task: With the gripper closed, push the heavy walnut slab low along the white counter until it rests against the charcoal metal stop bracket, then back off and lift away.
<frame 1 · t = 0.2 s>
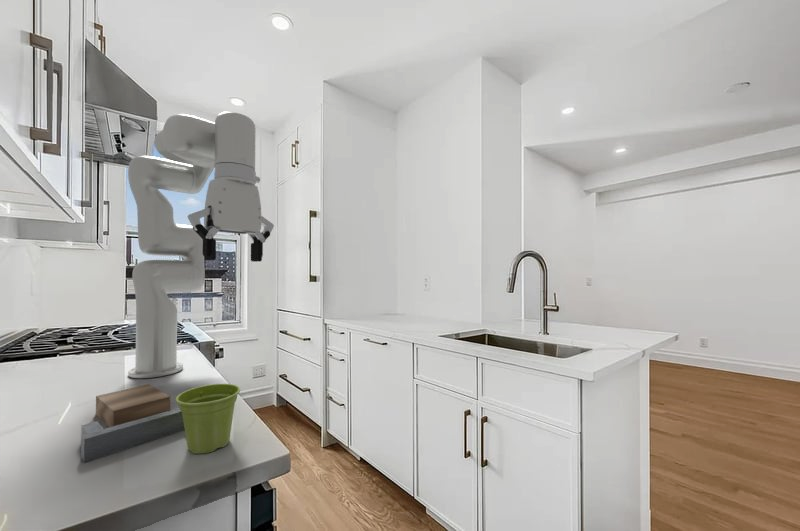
hand: (234, 260, 71), 31 cm above the counter, tool pointing down, fingers open, 9 cm apart
walnut slab: (132, 416, 70), on the counter
plant pot: (208, 446, 58), on the counter
stop bracket: (159, 435, 61), on the counter
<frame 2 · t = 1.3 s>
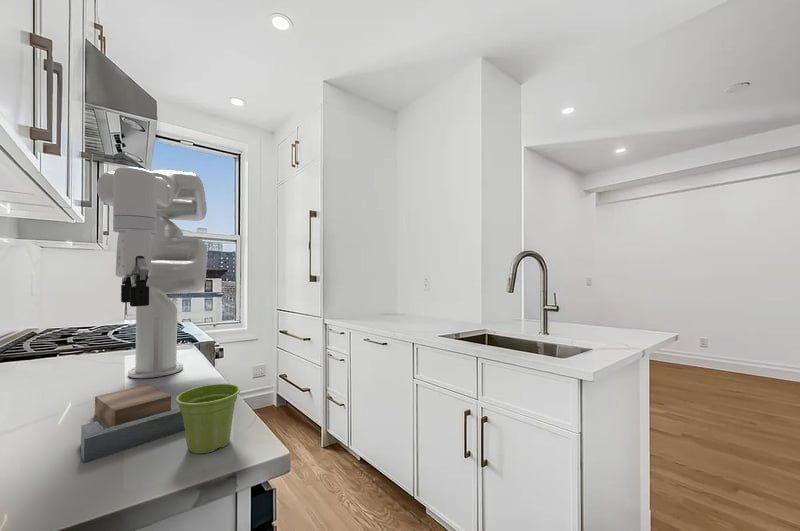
hand: (134, 303, 76), 21 cm above the counter, tool pointing down, fingers open, 9 cm apart
nothing on the counter moved.
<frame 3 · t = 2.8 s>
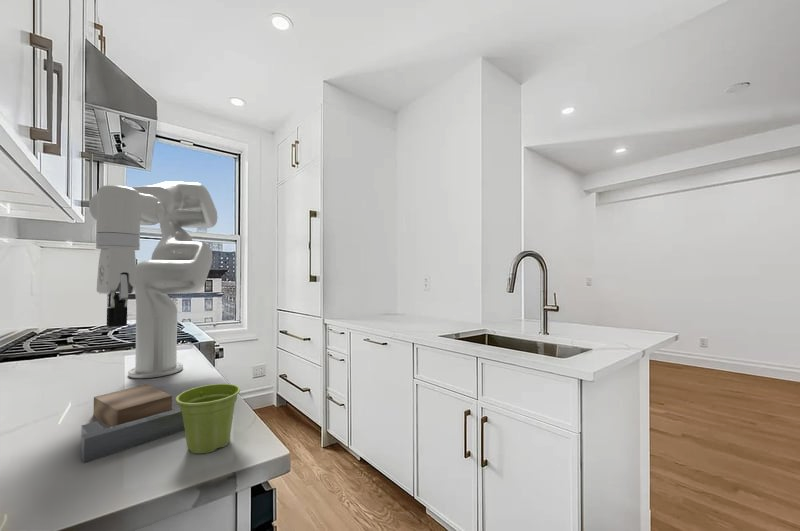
hand: (116, 325, 77), 17 cm above the counter, tool pointing down, fingers closed
nothing on the counter moved.
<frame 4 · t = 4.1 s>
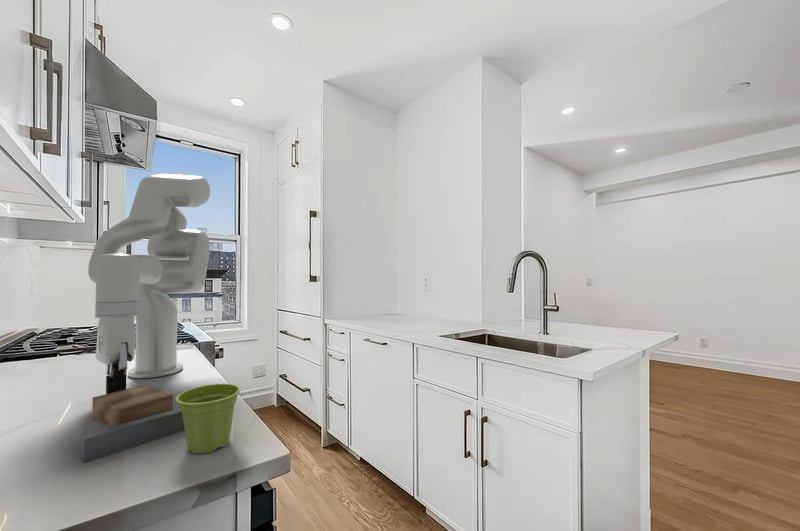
hand: (116, 393, 76), 2 cm above the counter, tool pointing down, fingers closed
nothing on the counter moved.
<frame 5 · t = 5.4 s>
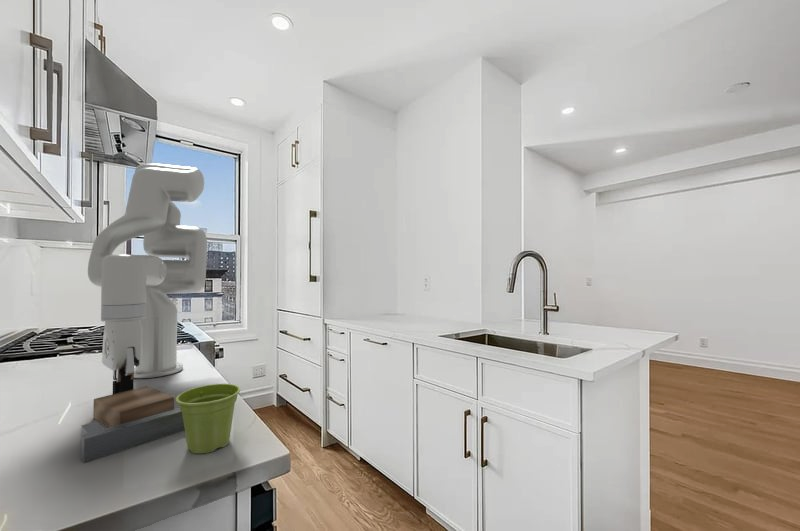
hand: (123, 398, 74), 2 cm above the counter, tool pointing down, fingers closed
walnut slab: (134, 418, 69), on the counter
everything else where it was.
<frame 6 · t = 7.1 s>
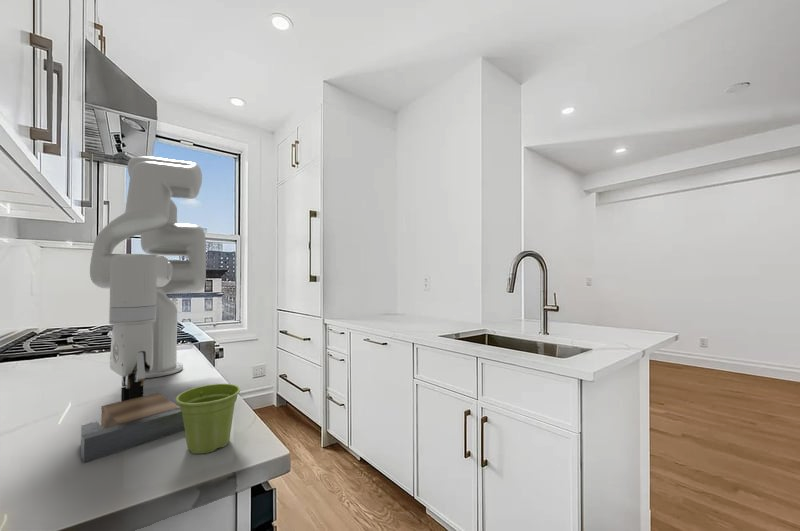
hand: (132, 406, 70), 1 cm above the counter, tool pointing down, fingers closed
walnut slab: (140, 428, 64), on the counter
everything else where it was.
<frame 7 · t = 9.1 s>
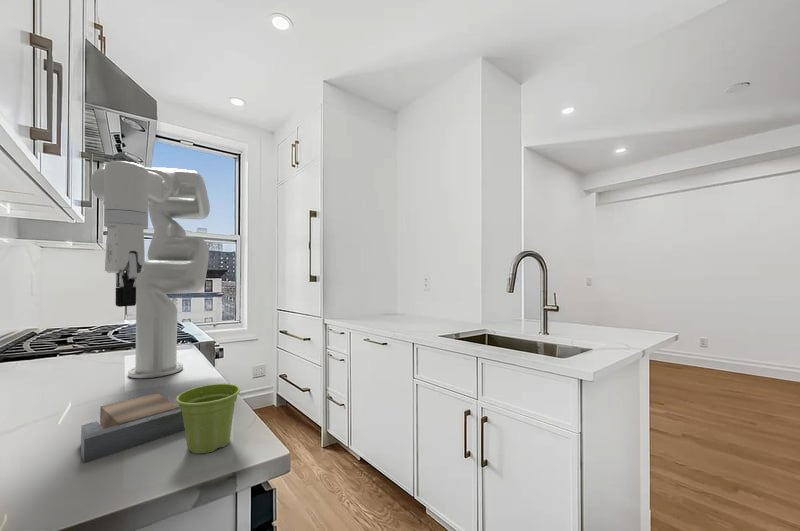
hand: (125, 305, 75), 21 cm above the counter, tool pointing down, fingers closed
nothing on the counter moved.
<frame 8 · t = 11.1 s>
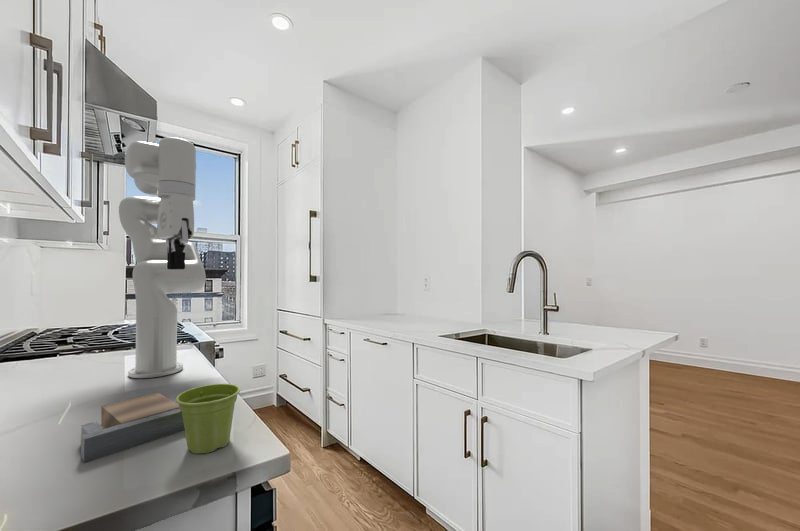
hand: (176, 269, 82), 29 cm above the counter, tool pointing down, fingers closed
nothing on the counter moved.
at the end: walnut slab 0.7 cm from the target spot, on the counter; walnut slab tilted 0°; walnut slab moved 7.5 cm from its start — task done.
